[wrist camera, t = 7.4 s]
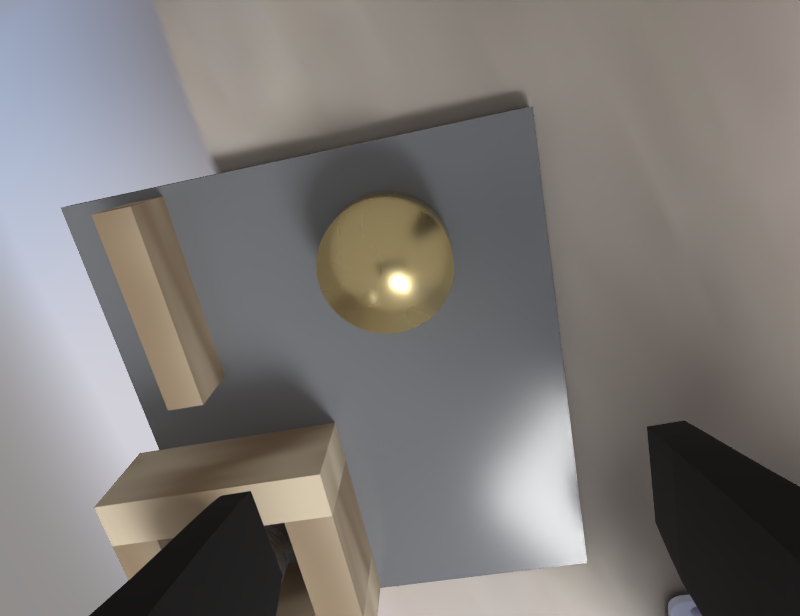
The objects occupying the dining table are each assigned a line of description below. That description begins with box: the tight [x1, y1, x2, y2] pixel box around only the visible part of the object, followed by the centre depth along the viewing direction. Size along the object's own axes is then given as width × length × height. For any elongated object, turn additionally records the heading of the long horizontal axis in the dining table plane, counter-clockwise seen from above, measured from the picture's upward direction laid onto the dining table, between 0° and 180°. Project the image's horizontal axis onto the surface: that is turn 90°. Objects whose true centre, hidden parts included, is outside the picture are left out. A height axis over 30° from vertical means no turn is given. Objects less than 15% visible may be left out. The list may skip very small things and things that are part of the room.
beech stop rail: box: [92, 196, 225, 411], centre depth 17 cm, size 1×6×2 cm, turn 11°
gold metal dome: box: [316, 191, 454, 333], centre depth 17 cm, size 4×4×2 cm
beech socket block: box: [95, 423, 380, 616], centre depth 20 cm, size 8×8×3 cm
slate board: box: [61, 106, 587, 588], centre depth 20 cm, size 15×17×1 cm
